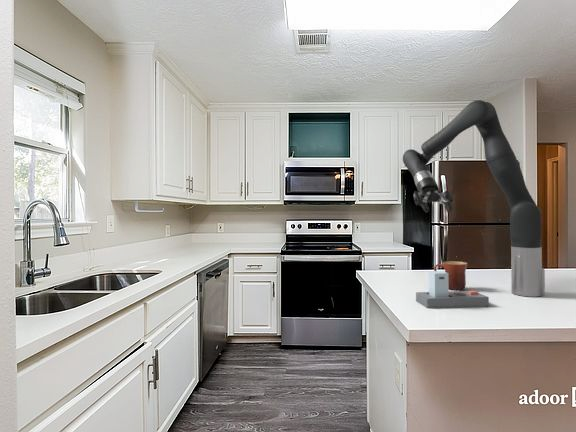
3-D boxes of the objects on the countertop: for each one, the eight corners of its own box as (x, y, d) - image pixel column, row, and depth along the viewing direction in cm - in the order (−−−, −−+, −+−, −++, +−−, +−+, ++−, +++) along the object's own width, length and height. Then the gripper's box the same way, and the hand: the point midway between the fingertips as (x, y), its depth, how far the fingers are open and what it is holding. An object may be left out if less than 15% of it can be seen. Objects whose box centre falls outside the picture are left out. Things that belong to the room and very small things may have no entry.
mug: (466, 287, 143) (466, 261, 143) (468, 292, 135) (468, 264, 135) (434, 285, 147) (433, 260, 147) (434, 290, 139) (434, 263, 139)
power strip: (473, 299, 124) (472, 288, 124) (488, 306, 115) (488, 294, 115) (416, 301, 123) (415, 289, 123) (427, 308, 114) (427, 296, 114)
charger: (442, 300, 121) (441, 271, 121) (448, 304, 116) (448, 273, 116) (429, 300, 121) (428, 271, 120) (435, 304, 116) (434, 273, 116)
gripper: (411, 176, 146) (423, 204, 134) (445, 176, 146) (460, 203, 135) (406, 190, 151) (417, 218, 140) (439, 190, 151) (453, 217, 140)
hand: (438, 211), depth 137 cm, fingers open, 8 cm apart
